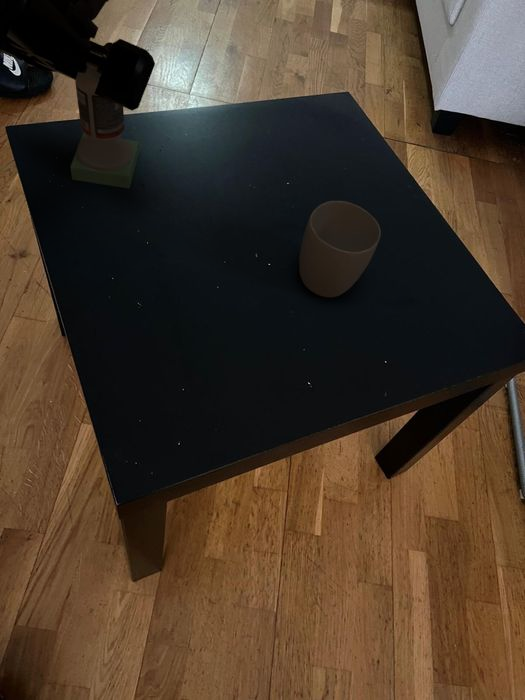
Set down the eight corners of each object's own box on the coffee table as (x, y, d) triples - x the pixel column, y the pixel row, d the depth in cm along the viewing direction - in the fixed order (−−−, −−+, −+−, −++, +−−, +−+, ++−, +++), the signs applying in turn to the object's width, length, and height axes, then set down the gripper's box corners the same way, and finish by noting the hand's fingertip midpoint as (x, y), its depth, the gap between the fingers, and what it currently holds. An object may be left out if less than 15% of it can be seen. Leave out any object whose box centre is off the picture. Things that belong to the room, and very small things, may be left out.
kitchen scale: (70, 179, 76) (68, 163, 73) (83, 144, 80) (81, 128, 78) (129, 189, 77) (128, 173, 74) (139, 154, 81) (138, 137, 79)
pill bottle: (129, 123, 75) (127, 52, 67) (116, 147, 72) (112, 75, 64) (89, 113, 75) (82, 40, 67) (74, 136, 72) (64, 62, 63)
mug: (344, 315, 70) (369, 264, 62) (282, 287, 71) (298, 233, 63) (371, 255, 78) (397, 201, 69) (314, 230, 78) (333, 174, 70)
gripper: (145, -30, 51) (194, 44, 66) (-19, -98, 53) (65, -11, 68) (102, 85, 53) (159, 131, 68) (-55, 15, 55) (35, 75, 70)
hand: (105, 79), depth 69 cm, fingers closed on pill bottle, 6 cm apart
